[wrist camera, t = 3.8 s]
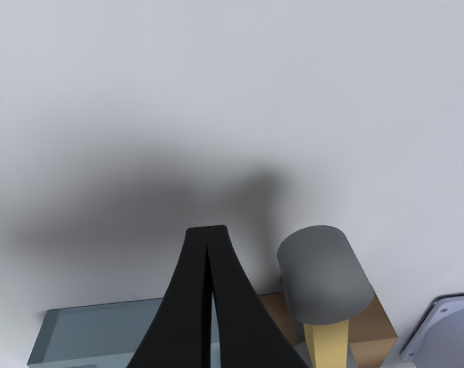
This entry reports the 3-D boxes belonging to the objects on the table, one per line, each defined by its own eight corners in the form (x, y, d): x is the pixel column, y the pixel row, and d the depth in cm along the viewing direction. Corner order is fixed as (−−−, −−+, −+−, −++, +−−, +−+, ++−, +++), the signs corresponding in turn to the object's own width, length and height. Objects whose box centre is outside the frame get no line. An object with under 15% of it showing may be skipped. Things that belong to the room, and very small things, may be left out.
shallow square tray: (231, 366, 26) (235, 409, 24) (100, 382, 25) (91, 427, 23) (226, 291, 19) (231, 341, 17) (47, 310, 19) (26, 364, 16)
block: (341, 352, 26) (361, 408, 23) (235, 365, 26) (241, 424, 23) (380, 258, 19) (418, 323, 16) (230, 274, 18) (238, 344, 15)
